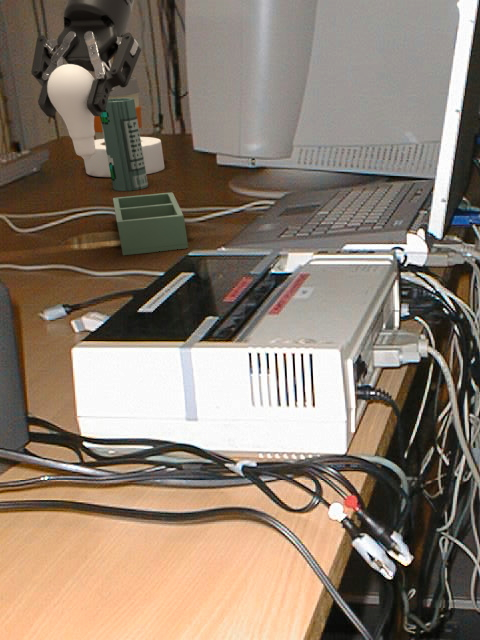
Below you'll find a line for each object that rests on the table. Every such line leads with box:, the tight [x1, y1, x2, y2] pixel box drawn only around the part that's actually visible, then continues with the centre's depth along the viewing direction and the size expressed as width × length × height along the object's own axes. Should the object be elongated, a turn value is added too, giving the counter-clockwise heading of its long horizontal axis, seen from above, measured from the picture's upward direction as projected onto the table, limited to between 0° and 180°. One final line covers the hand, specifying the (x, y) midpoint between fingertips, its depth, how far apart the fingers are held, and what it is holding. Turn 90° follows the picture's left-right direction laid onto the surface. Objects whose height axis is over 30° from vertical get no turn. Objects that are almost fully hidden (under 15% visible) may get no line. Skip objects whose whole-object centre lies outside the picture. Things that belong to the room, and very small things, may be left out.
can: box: [100, 98, 149, 192], centre depth 165 cm, size 6×6×15 cm
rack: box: [112, 192, 189, 256], centre depth 133 cm, size 17×9×5 cm, turn 16°
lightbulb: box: [47, 63, 96, 160], centre depth 113 cm, size 6×6×11 cm
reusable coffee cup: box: [94, 76, 143, 140], centre depth 202 cm, size 13×13×15 cm
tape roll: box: [83, 136, 165, 178], centre depth 184 cm, size 16×16×6 cm
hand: (69, 111), depth 112 cm, fingers closed on lightbulb, 6 cm apart
